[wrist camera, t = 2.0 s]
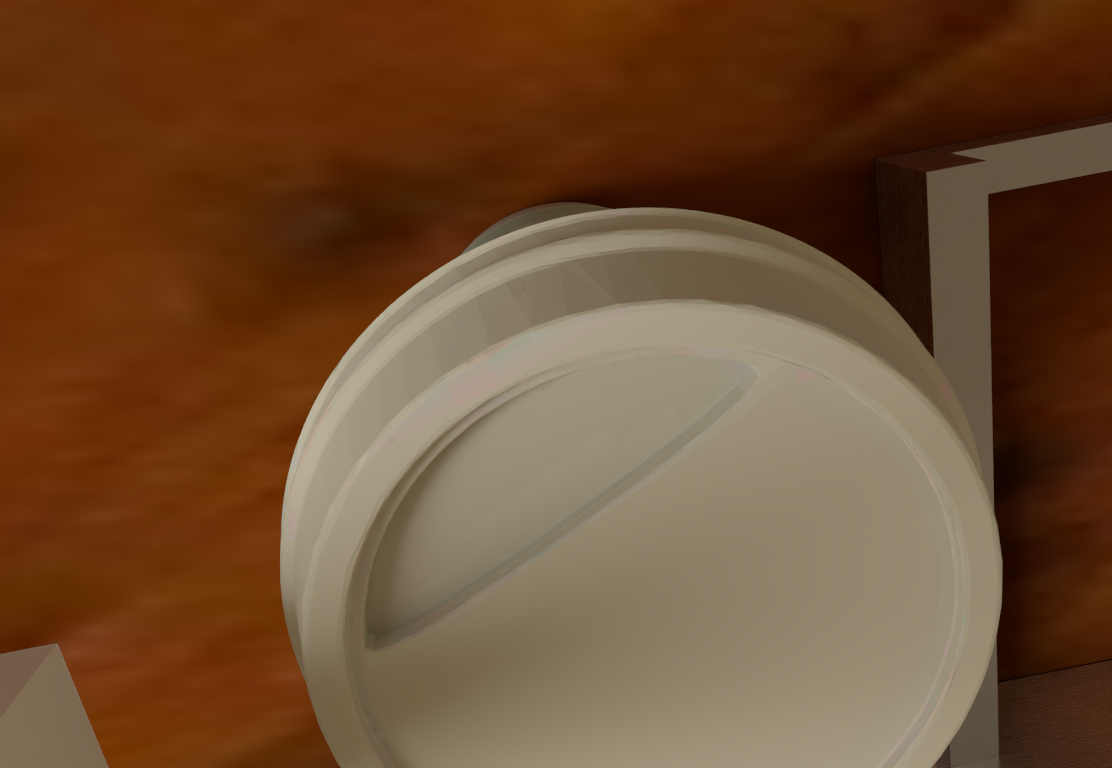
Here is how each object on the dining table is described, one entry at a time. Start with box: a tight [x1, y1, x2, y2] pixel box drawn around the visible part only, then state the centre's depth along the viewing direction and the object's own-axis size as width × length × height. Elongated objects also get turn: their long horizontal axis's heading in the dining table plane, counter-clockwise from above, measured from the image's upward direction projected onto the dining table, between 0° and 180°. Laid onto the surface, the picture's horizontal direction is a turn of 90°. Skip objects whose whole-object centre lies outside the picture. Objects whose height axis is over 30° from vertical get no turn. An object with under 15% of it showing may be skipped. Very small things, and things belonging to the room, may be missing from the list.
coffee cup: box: [280, 202, 1003, 768], centre depth 15 cm, size 8×8×12 cm
